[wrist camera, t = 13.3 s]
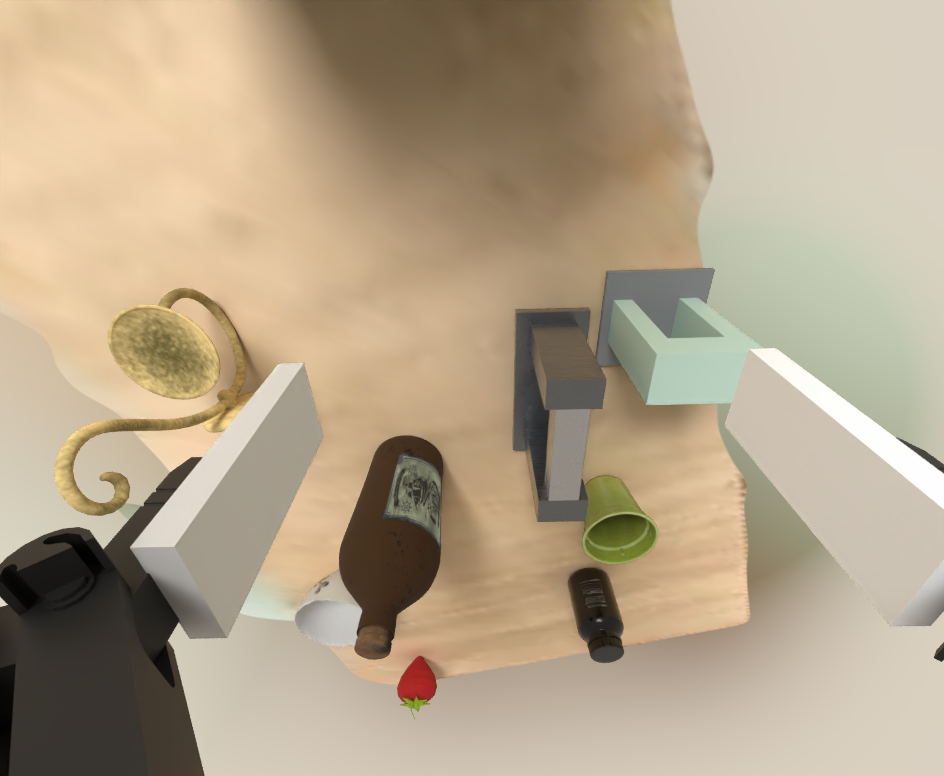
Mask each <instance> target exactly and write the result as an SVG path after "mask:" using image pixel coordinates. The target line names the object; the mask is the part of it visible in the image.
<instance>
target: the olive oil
mask: <svg viewBox="0 0 944 776" xmlns="http://www.w3.org/2000/svg"><path fill="white" fill-rule="evenodd" d="M442 475H443V461H442V457H441V455H440V453H439V451H438V450H437V449H436V448H435V447H434V446H433V445H432V444H431V443H429V442H428V441H426V440H424V439H421V438H418V437H414V436H397V437H393V438H391V439H388V440H387V441H385V442H384V443H382V444H381V445H380V446H379V447H378V449H377V450H376V452H375V455H374V457H373V460H372V463H371V466H370V469H369V472H368V475H367V478H366V481H365V483H364V486H363V489H362V491H361V494H360V497H359V499H358V502H357V504H356V507H355V510H354V512H353V515H352V518H351V520H350V523H349V525H348V528H347V530H346V533H345V535H344V538H343V541H342V544H341V547H340V553H339V569H340V575H341V579H342V581H343V584H344V586H345V587H346V589H347V590H348V592H349V593H350V594H351V596H352V597H353V598H354V600H355V601H356V602H357V604H358V605H359V606H360V608H361V609H362V613H361V617H360V620H359V624H358V629H357V632H356V633H357V636H358V638H357V639H356V643H355V648H354V649H355V652H356V653H357V654H358V655H360V656H361V657H363V658H366V659H373V660H376V659H382V658H385V657H387V656H388V655H389V654H390V651H391V645H392V643H391V641H392V640H393V638H394V634H395V627H396V618H397V614H399V613H400V612H401V611H403V610H404V609H406V608H407V607H409V606H410V605H412V604H413V603H414V602H416V601H417V600H419V599H420V598H421V597H422V596H423V595H424V594H425V593H426V592H427V591H428V590H429V588H430V587H431V585H432V583H433V581H434V579H435V577H436V574H437V571H438V568H439V564H440V555H441V497H442Z"/></svg>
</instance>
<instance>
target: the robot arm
mask: <svg viewBox="0 0 944 776" xmlns="http://www.w3.org/2000/svg"><path fill="white" fill-rule="evenodd" d="M725 427H726V428H727V429H728V430H729V432H730V433H731V434H732V435H733V436H734V438H735V439H736V440H737V441H738V443H739V444H740V445H741V446H742V447H743V448H744V450H745V451H746V452H747V453H748V455H749V456H750V457H751V458H752V459H753V461H754V462H755V463H756V464H757V465H758V467H759V468H760V469H761V470H762V471H763V473H764V474H765V475H766V476H767V478H768V479H769V480H770V481H771V482H772V484H773V485H774V486H775V487H776V488H777V490H778V491H779V492H780V493H781V494H782V496H783V497H784V498H785V499H786V501H787V502H788V503H789V504H790V505H791V506H792V508H793V509H794V510H795V511H796V513H797V514H798V515H799V516H800V517H801V519H802V520H803V521H804V522H805V523H806V525H807V526H808V527H809V528H810V529H811V531H812V532H813V533H814V534H815V536H816V537H817V538H818V539H819V540H820V542H821V543H822V544H823V545H824V546H825V548H826V549H827V550H828V551H829V552H830V554H831V555H832V556H833V557H834V558H835V560H836V561H837V562H838V563H839V565H840V566H841V567H842V568H843V569H844V571H845V572H846V573H847V574H848V575H849V577H850V578H851V579H852V580H853V581H854V583H855V584H856V585H857V586H858V587H859V589H860V590H861V591H862V592H863V594H864V595H865V596H866V597H867V598H868V600H869V601H870V602H871V603H872V604H873V606H874V607H875V608H876V609H877V610H878V612H879V613H880V614H881V615H882V616H883V618H884V619H885V620H886V621H887V623H888V624H889V625H890V626H931V625H932V624H933V623H934V621H935V620H936V619H937V618H938V617H939V616H940V615H941V613H942V612H943V611H944V464H942V463H941V462H940V461H938V460H937V459H935V458H934V457H933V456H931V455H930V454H928V453H927V452H926V451H924V450H922V449H920V448H918V447H916V446H913V445H912V444H909V443H908V442H906V441H903V440H901V439H899V438H896V437H894V436H892V435H891V434H890V433H888V432H887V431H886V430H884V429H883V428H882V427H880V426H879V425H878V424H876V423H875V422H874V421H872V420H871V419H870V418H868V417H867V416H866V415H864V414H863V413H862V412H860V411H859V410H858V409H856V408H855V407H854V406H852V405H851V404H849V403H848V402H847V401H846V400H844V399H843V398H841V397H840V396H839V395H838V394H836V393H835V392H833V391H832V390H831V389H829V388H828V387H827V386H826V385H824V384H823V383H821V382H820V381H819V380H817V379H816V378H815V377H813V376H812V375H811V374H809V373H808V372H807V371H805V370H804V369H803V368H801V367H800V366H799V365H797V364H796V363H795V362H793V361H792V360H791V359H789V358H788V357H787V356H785V355H784V354H783V353H781V352H780V351H778V350H777V349H776V348H769V349H749V351H748V354H747V357H746V360H745V363H744V366H743V370H742V373H741V376H740V379H739V382H738V385H737V388H736V391H735V394H734V398H733V401H732V404H731V407H730V410H729V413H728V416H727V419H726V422H725ZM323 437H324V436H323V433H322V429H321V425H320V421H319V418H318V414H317V410H316V406H315V403H314V399H313V395H312V391H311V387H310V384H309V380H308V376H307V372H306V369H305V365H304V363H284V364H278V365H277V366H276V368H275V369H274V370H273V371H272V372H271V374H270V375H269V376H268V377H267V379H266V380H265V381H264V382H263V384H262V385H261V386H260V387H259V389H258V390H257V391H256V392H255V393H254V395H253V396H252V397H251V398H250V400H249V401H248V402H247V403H246V405H245V406H244V407H243V408H242V410H241V411H240V412H239V413H238V415H237V416H236V417H235V418H234V419H233V421H232V422H231V423H230V424H229V426H228V427H227V428H226V429H225V431H224V432H223V433H222V434H221V436H220V437H219V438H218V439H217V440H216V442H215V443H214V444H213V445H212V447H211V448H210V449H209V450H208V452H207V453H206V454H205V455H204V457H191V458H190V459H188V460H187V461H186V462H184V463H183V464H181V465H180V466H179V467H177V468H176V469H174V470H173V471H171V472H170V473H169V474H168V476H167V477H166V478H165V479H164V480H163V481H162V483H161V484H160V485H159V486H158V487H157V488H156V492H153V493H152V494H151V495H150V496H149V498H148V499H147V500H146V501H145V502H144V506H143V507H140V508H139V509H138V510H137V511H136V512H135V514H134V515H133V516H132V517H131V518H130V519H129V521H128V522H127V523H126V524H125V525H124V526H123V527H122V529H121V530H120V531H119V532H118V533H117V535H116V536H115V537H114V538H113V539H112V540H111V541H110V543H109V544H108V545H107V546H106V547H105V548H104V549H102V547H101V546H100V544H99V543H98V542H97V540H96V539H95V538H94V536H93V535H92V533H91V532H90V530H87V529H83V528H80V527H75V528H66V529H61V530H58V531H54V532H51V533H48V534H46V535H43V536H41V537H39V538H37V539H35V540H33V541H31V542H29V543H27V544H25V545H24V546H22V547H21V548H20V549H18V550H17V551H15V552H14V553H13V554H11V555H10V556H8V557H7V558H6V559H5V560H4V561H3V562H2V563H1V564H0V597H1V598H2V599H3V600H4V601H5V602H6V603H7V604H8V605H6V606H3V607H0V776H204V771H203V767H202V763H201V759H200V756H199V751H198V747H197V743H196V739H195V735H194V731H193V727H192V723H191V719H190V714H189V711H188V707H187V702H186V698H185V694H184V690H183V686H182V682H181V678H180V674H179V670H178V666H177V662H176V658H175V654H174V649H173V648H172V646H171V645H170V643H169V642H168V639H169V637H170V635H171V634H172V632H173V631H174V629H175V627H176V626H177V624H178V622H179V623H180V624H181V626H182V627H183V629H184V631H185V632H186V634H187V635H188V637H189V638H191V639H193V638H227V637H228V635H229V633H230V631H231V629H232V626H233V625H234V622H235V620H236V618H237V616H238V614H239V612H240V610H241V608H242V606H243V604H244V602H245V600H246V598H247V595H248V593H249V591H250V589H251V587H252V585H253V583H254V581H255V579H256V577H257V575H258V572H259V570H260V568H261V566H262V564H263V562H264V560H265V558H266V556H267V554H268V552H269V549H270V547H271V545H272V543H273V541H274V539H275V537H276V535H277V533H278V531H279V529H280V526H281V524H282V522H283V520H284V518H285V516H286V514H287V512H288V510H289V508H290V506H291V503H292V501H293V499H294V497H295V495H296V493H297V491H298V489H299V487H300V485H301V483H302V480H303V478H304V476H305V474H306V472H307V470H308V468H309V466H310V464H311V462H312V460H313V457H314V455H315V453H316V451H317V449H318V447H319V445H320V443H321V441H322V439H323ZM934 658H935V659H937V660H939V661H941V662H942V661H943V660H944V643H943V644H942V645H941V646H940V647H939V648H938V649H937V650H936V653H935V656H934Z"/></svg>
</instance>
